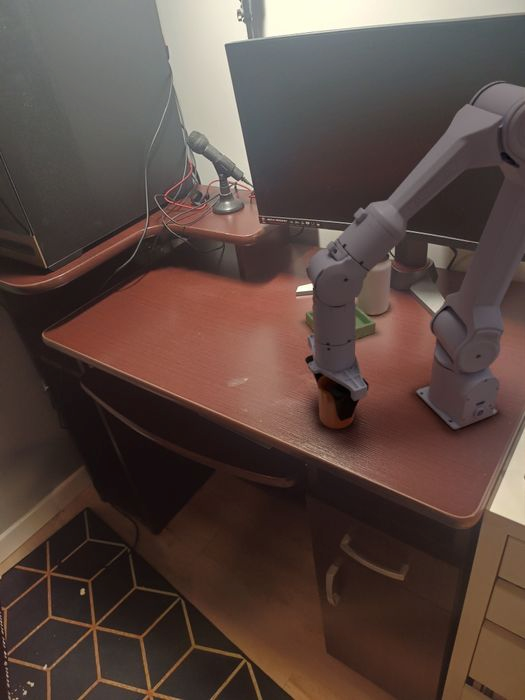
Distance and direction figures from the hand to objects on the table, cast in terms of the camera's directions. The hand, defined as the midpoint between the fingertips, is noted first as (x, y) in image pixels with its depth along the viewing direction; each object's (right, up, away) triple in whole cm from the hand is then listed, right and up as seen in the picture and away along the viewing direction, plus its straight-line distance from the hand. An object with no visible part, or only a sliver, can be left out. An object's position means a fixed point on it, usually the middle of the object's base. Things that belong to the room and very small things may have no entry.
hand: (336, 405), depth 72 cm
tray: (+4, +13, +21) cm, 25 cm away
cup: (0, -2, +1) cm, 2 cm away
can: (+12, +17, +26) cm, 33 cm away
